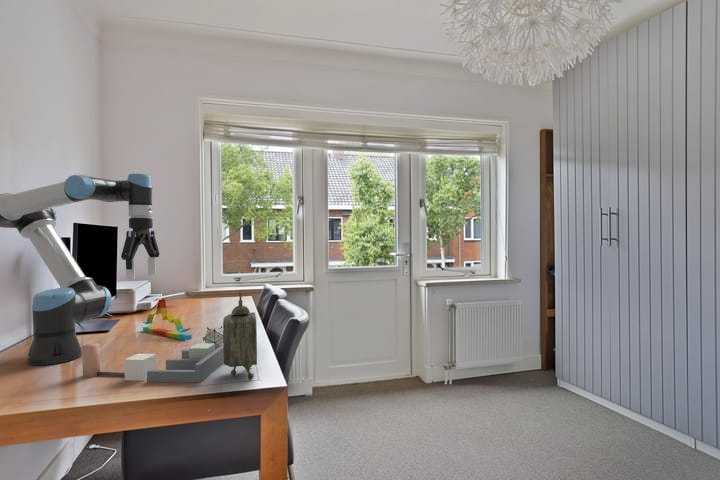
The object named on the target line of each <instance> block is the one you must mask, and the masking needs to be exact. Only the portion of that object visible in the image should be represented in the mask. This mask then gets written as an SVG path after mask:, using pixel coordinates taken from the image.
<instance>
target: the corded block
mask: <svg viewBox="0 0 720 480" xmlns="http://www.w3.org/2000/svg"><path fill="white" fill-rule="evenodd" d="M81 348H82V356H81V358H82V377H83V378H85V379H86V378H94V377H98V376H112V377H114V376H116V377H124V381H135V382H137V381H138V382H140V381H141V382H145V381H147V371H148V370H158V368H157V367H158V366H157V353H136V354H133V355H132V356H129V357H127V358H125V359H124V360H123V361H124V372H122V371H121V372H120V371H118V372H117V371H101V355H100V354H101V350H100V348H101V345H100V343H97V342H93V343H87V344H84V345H82V346H81Z"/></svg>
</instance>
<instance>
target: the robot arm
mask: <svg viewBox="0 0 720 480" xmlns="http://www.w3.org/2000/svg"><path fill="white" fill-rule="evenodd" d="M152 184H153V183H152V177H151V176H150V175H149V174H145V173H129V174H128V175H127V180H125V179H124V180H116V179H115V180H112V179H105V178H100V177H94V176H93V177H92V176H88V175H84V174H73V175H69V176H68V177H67V179H65V181H61V182H57V183H54V184H50V185H45V186H42V187H37V188H33V189H29V190H25V191H22V192H17V193H10V192H5V193H4V192H3V193H0V228H4V229H5V228H6V229H8V228H9V229H16V230H17V232H18V233H19V235H21V237H23V238H25V239H29V241H30V242H31V244H32V245H33V247H34V248H35V250H36V252H37V253H38V255H39V257H40V258H41V260H42V261H43V262H44V264H45V266H46V267H47V269H48V270H49V272H50V274H51V275H52V276H53V278H54V279H55V281H56V283H57V285H58V286H59V287H56V288H52V289H46V290H42V291H40V292H37V293H36V294H35V295H34V296H32V305H31V310H32V332H33V333H32V334H33V335H32V337H33V338H32V342H31V344H30V348H29V350H28V353H27V355H26V362H27V364H28V365H31V366H49V365H50V366H51V365H57V364H63V363H66V362H71V361H74V360H77V359H80V357H81V358H82V346H81V344H80V342H79V339H78V337H77V333H76V324H78V323H81V322H85V321H90V320H95V319H97V318H100V317H103V316H104V315H106V314H107V313H108V312H109V310H110V308H111V307H112V305H111V303H112V301H113V299H112V294H111V292H110V290H109V289H108V288H107V287H106V286H102V285H97V283H96V282H95V280H94V279H93V277H89V276H88V277H87V276H86V275H85V273H84V272H83V270H82V268H81V267H80V266H79V263H78V262H77V261H76V260H75V258H74V256H73V255H72V253H71V252H70V250H69V249H68V247H67V246H66V244H65V242H64V241H63V239H62V238H61V237H60V235H59V233H58V232H57V230H56V229H55V227H56V225H57V224H56V221H57V216H56V215H57V210H56V209H55V208H58V207H62V206H65V205H70V204H75V203H78V202H83V201H87V200H93V201H101V202H105V203H114V202H115V203H117V202H128V217H129V219H128V227H129V229H131V230H126V235H125V236H126V237H125V241H124V244H123V248H122V252H121V254H120V259H121V260H123V261H125V270H126V273H125V275H126V276H125V278H126V280H135V279H136V260H135V259H134V257H135V256H136V253H137V251H138V249H139V248H140V247H139V246H141V245H143V247H144V248H145V251H146V253H147V254H148V257H147V275H148V276H156V275H157V258H159V257H160V250H159V247H158V243H157V240H156V235H155V234H156V233H155V231H154V230H150V229H152V228H153V218H152V217H153V203H152V202H153V186H152Z"/></svg>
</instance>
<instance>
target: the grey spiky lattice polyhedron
mask: <svg viewBox="0 0 720 480" xmlns="http://www.w3.org/2000/svg"><path fill="white" fill-rule="evenodd" d="M206 329H207V331H206V333H205V335H204V336H203V337H202V341H203V342H205V343H215V349H218V348H219V347H220V346H222V345H223V325H221V326H220V327H212V328H209V327H208V326H206Z"/></svg>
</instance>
